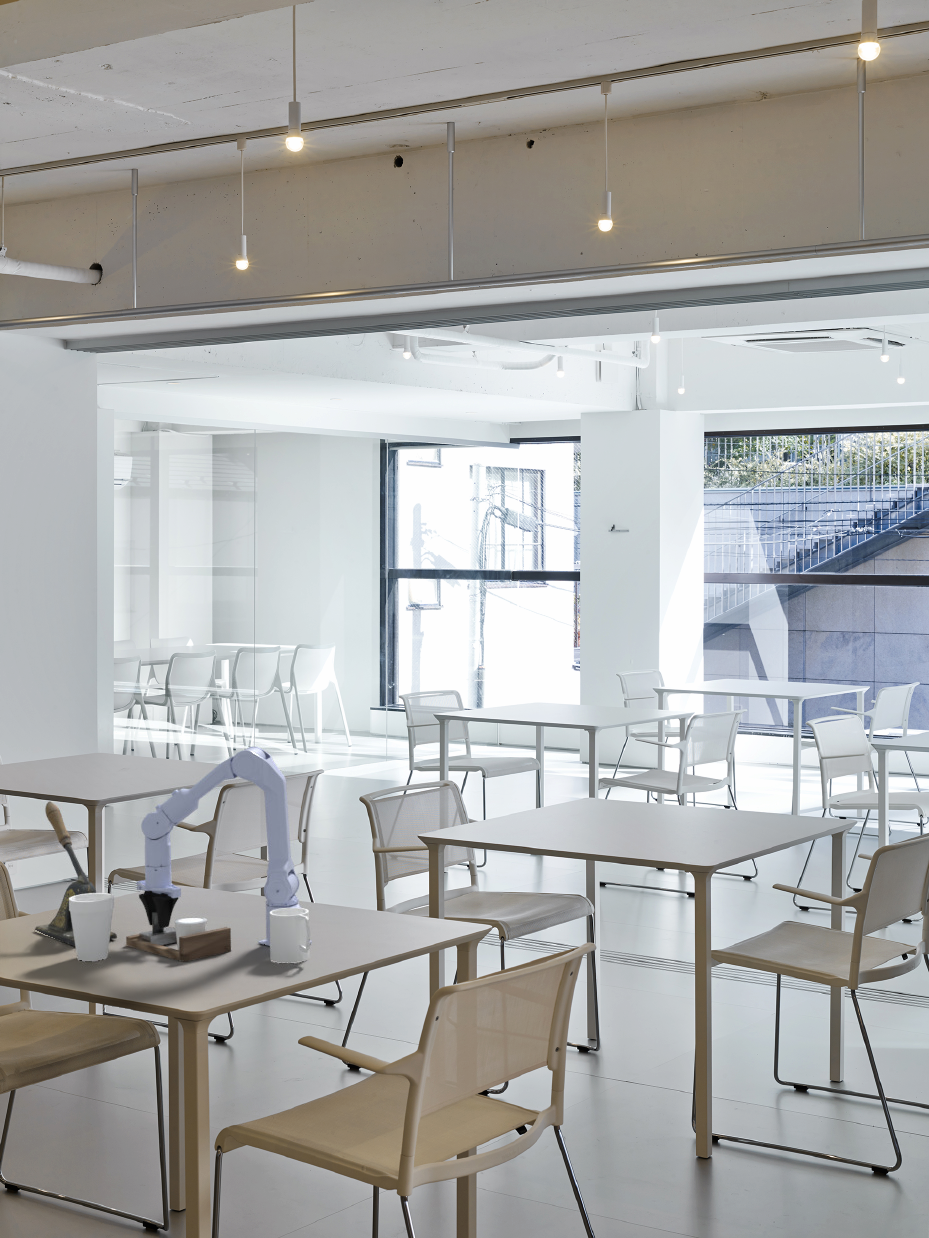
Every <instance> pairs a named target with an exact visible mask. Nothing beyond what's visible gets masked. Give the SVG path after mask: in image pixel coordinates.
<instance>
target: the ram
mask: <svg viewBox="0 0 929 1238" xmlns="http://www.w3.org/2000/svg"><path fill="white" fill-rule="evenodd" d="M151 927H152V928H151V929H152V930H149V931H146V932H145V931H144V932H140V933H138V934H139V937H140V940H143V941H147V942H150V943H154V944H158V945H161V946H164V945H167V944H173V943H177V938H176V928H175V927H174V928H172V926H169V927H164V928H159V924H158V915H157V910H156V911H152V925H151Z"/></svg>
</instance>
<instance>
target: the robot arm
mask: <svg viewBox="0 0 929 1238" xmlns="http://www.w3.org/2000/svg"><path fill="white" fill-rule="evenodd" d="M237 777H238V778H240V779H242V780H246V781H247V782H252V783H253V784H255V786H257V787H258V788H260V789H261V790H262V791H263V793H264V807H265V808H264V809H265V823H266V824H265V825H266V839H267V856H268V857H267V858H268V863H267V871H266V877H267V878H266V882H265V884H264V887H263V894H264V897H265V899H266V901H265V929H266V930H265V932H266V933H265V936H266V939H262V940H258V941H257V943H258V944H261V945H264V944H265V946H267V947H270V911H272V910H276V909H281V908H303V907H301V905H300V904H299V898H298V897H297V895H296V893H297V892H298V890H299V888H300V880H299V876H298V875H297V873H296V870H295V863H294V861H293V860H292V855H291V854H292V853H291V851H292V850H291V839H290V838H291V837H290V820H289V806H288V803H289V802H288V793H287V792H288V791H287V779H286V777H285V775H284V774H283V772H282V771H281V770H280V768H279V767H278V765H277V764H276V763H275V761H274V760H273V757H272V754H271V753H269V752H267V751H266V750H264V749H263V748H261V747H258V746H249V747H247V748H245V749H244V750H241V751H238V752H237V753H236V754H235V755H233V756H231V757H229V758H227V759H226V760H224V761H222V762H220V763H219V764H218V765H216V767H214V768H212V770H211V771H210V772H208V773H207V774H206V775H205V776H204V777H203V778H202V779H201V780H199V781H198V782H196V784H195V785H194V786H192V787H191V788H180V789H175V790H174V791H172V792H171V795H172V796H171V797H168V799H167V800H166V801H164V802H162V803H159V804H157V805H156V806H155V809H156V810H155V811H153V812H149V813H147V814H146V815H145V817H144V818H142V819H143V820H142V821H141V832H142V834H143V835H144V875H145V876H144V877H145V879H143V880H138V881H136V890H137V891H143V893H140V894H138V897H139V900H140V902H141V903H142V906H143V908H144V910H145V913H146V917H147V920H148V924H149V926H152V911H156V910H157V915H158V924H159V928H164V927H166V928H168V927H170V923H171V919H172V914H173V912H174V907H175V906H176V904H177V902H178V900H179V898H180V897H182V888H181V887H178V886H176V885H175V884H173V883H172V844H171V832H172V831H173V829H174V827H176V826H178V825H179V824H180V823H182V822H183V820H186V818H187V817H189V816H190V815H192V814H193V813H194V812H195V811H197V810H198V808H199V801H200V800H201V799H202V798H204V796H206V795H208V793H210V792H212V790H214V789H215V788H216V787H218V786H220V785H221V784H222V783H223V782H225V781H226V780H234V779H236V778H237ZM303 909H305V908H303ZM312 943H313V941H312V940H310V944H312Z"/></svg>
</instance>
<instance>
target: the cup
mask: <svg viewBox="0 0 929 1238" xmlns="http://www.w3.org/2000/svg"><path fill="white" fill-rule="evenodd" d="M309 913H310V911H309V909H307V908H304V909H303V907H302V908H281V909H276V910H272V911H270V946H269V954H270V955H269V956H270V957H269V959H271V960H273V961H277V962H281V963H282V962H285V963H287V962H288V963H291V962H297V961H302V960H306V959H308V958H309V959H310V949H311V948H310V947H311V943H310V941H311V925H310V919H309V918H310V917H309ZM271 960H270V961H271Z"/></svg>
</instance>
